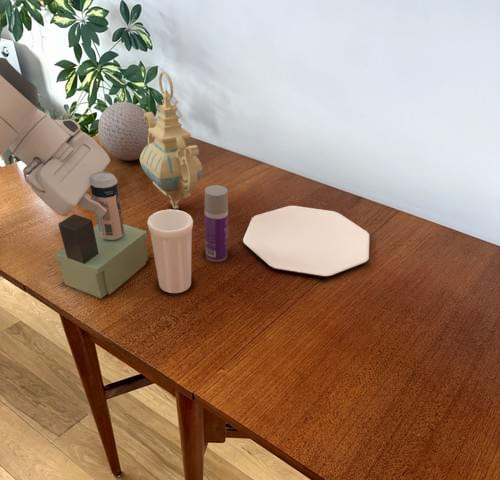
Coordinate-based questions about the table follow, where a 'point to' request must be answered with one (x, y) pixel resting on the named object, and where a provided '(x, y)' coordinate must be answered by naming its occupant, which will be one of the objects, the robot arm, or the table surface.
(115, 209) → the white lidded canister
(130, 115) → the decorative ball
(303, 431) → the table surface
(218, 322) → the table surface
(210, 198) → the container
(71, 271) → the sage green lidded box
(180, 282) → the cup
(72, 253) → the block
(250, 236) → the plate
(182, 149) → the ornate tan lantern
